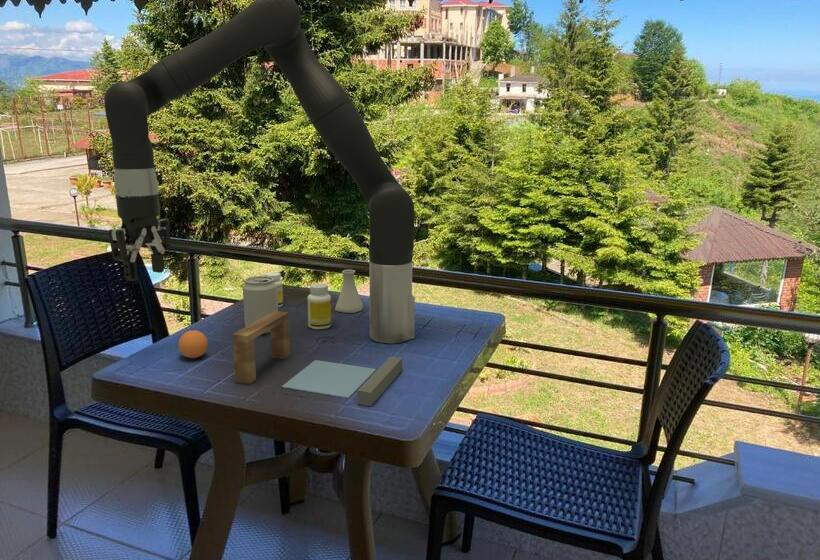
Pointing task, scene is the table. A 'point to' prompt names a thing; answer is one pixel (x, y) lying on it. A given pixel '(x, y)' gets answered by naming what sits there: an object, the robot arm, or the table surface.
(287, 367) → the table surface
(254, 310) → the can
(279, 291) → the supplement bottle
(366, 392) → the bar
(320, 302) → the supplement bottle
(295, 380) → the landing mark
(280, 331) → the bridge
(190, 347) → the ball
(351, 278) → the flask
